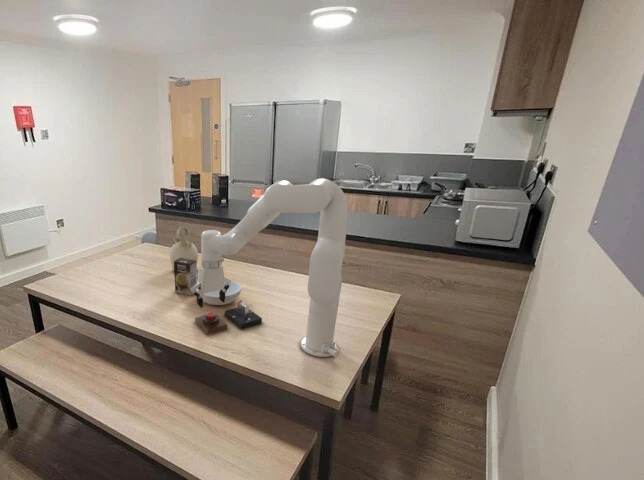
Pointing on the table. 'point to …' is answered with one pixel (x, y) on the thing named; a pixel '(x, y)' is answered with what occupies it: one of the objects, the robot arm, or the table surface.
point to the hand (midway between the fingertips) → (211, 303)
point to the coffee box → (185, 275)
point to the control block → (211, 324)
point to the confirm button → (210, 316)
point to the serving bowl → (229, 295)
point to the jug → (183, 248)
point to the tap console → (242, 321)
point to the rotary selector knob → (243, 308)
